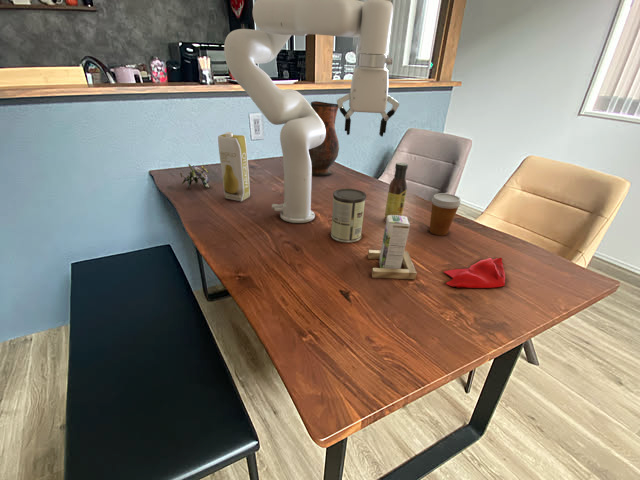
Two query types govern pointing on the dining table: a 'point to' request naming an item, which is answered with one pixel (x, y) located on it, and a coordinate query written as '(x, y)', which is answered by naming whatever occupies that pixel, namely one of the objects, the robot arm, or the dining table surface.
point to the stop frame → (404, 273)
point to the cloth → (479, 275)
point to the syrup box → (394, 242)
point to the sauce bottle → (397, 191)
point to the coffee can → (347, 215)
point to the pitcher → (325, 140)
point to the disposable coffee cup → (443, 212)
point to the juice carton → (234, 166)
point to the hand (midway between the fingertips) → (364, 134)
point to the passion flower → (197, 176)
